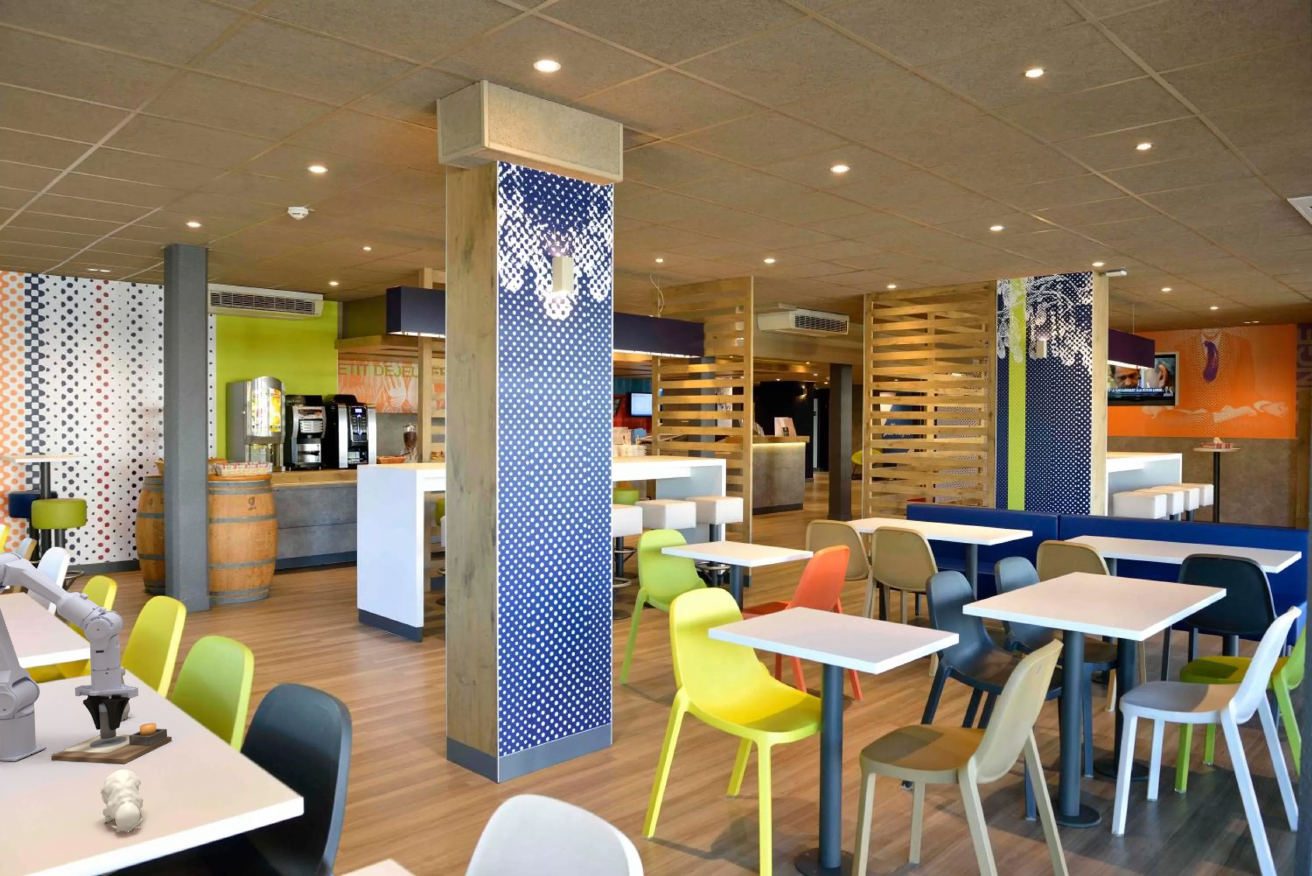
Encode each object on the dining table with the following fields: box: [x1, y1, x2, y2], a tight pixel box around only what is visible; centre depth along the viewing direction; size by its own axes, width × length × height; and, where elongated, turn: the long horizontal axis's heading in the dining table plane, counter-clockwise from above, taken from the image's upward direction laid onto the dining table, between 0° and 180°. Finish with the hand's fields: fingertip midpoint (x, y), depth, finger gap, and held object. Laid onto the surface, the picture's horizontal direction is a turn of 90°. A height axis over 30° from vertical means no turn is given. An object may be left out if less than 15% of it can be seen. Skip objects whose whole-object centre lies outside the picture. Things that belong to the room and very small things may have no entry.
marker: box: [99, 702, 117, 739], centre depth 202 cm, size 3×3×8 cm
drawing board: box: [50, 728, 173, 765], centre depth 200 cm, size 18×14×3 cm
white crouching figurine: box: [100, 769, 144, 833], centre depth 161 cm, size 6×8×12 cm
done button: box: [139, 722, 157, 736], centre depth 202 cm, size 3×3×2 cm
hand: (107, 728), depth 202 cm, fingers closed on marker, 3 cm apart
